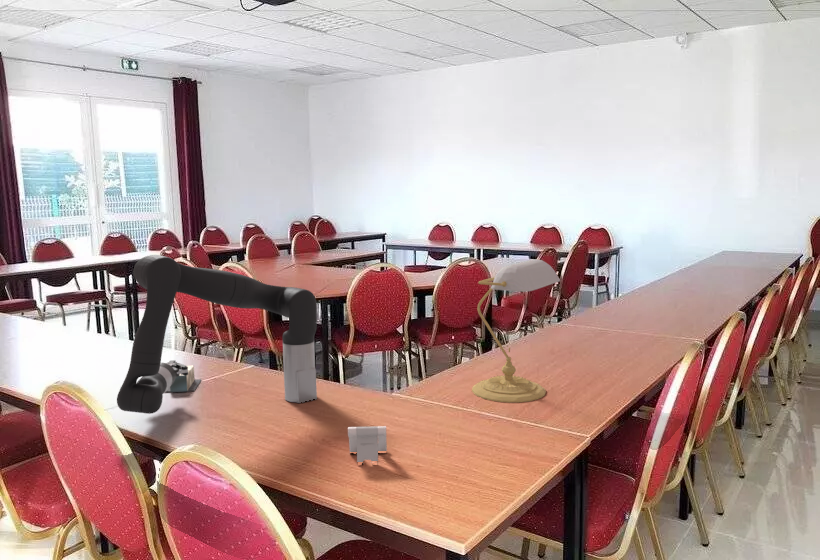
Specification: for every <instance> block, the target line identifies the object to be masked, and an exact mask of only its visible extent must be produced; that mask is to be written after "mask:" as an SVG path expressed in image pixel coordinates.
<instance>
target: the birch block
mask: <svg viewBox="0 0 820 560" xmlns="http://www.w3.org/2000/svg"><path fill="white" fill-rule="evenodd" d="M187 366H188V375H181V374H180V375H179V376H178V377H176V379H175V381H174V383H173V384H172V385H171V386H170V392H169V393H180V392H179V391H188V389H189V388H190V386H191V385H192V383H193V382H194V380H195V379H196V378H195V377H196V376H195V365H193V364H191V365H187Z"/></svg>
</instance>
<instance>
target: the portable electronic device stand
mask: <svg viewBox="0 0 820 560" xmlns="http://www.w3.org/2000/svg"><path fill="white" fill-rule="evenodd" d="M347 436H348V437H347V438H348V446H349V453H350V452H357V454H356V463H357V462H363V461H368V460H369V461H378V462H379V454H378V451H387V450H388V449H387V447H388V446H387V426H386V425H382V426H381V425H380V426H379V425H377V426H374V425H373V426H348V427H347ZM387 452H388V451H387Z"/></svg>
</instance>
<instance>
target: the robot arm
mask: <svg viewBox="0 0 820 560" xmlns="http://www.w3.org/2000/svg"><path fill="white" fill-rule="evenodd" d="M133 267H134V268H133V277H134V279H135V281H136V282H137V284H138V285H139V286H140V287H141V288H143V289H145V290H146V303H145V308H144V313H143V315H142V316H143V317H142V319H141V320H140V323H139V326H138V329H137V330H136V333H135V335H134V338H133V343H132V348H131V355H130V356H131V357H130V362H129V367H128V370H127V373H126V375H125V377H124V378H125V379H124V381H123V383H122V385H121V386H120V389H119V391H118V394H117V396H116V404H117V406H118V408H119V410H122V411H124V412H129V413H130V412H131V413H140V414H148V415H150V414H154V413H157V412H158V411H159V410H160V408H161V407H162V403H163V397H164V396H163V395H164V394H165V392H166V391H167V390H168V389H169V388H170V386H171V385H172V384H173V383H174V381H175V379H176V377H178V376H179V375H180V374H181V375H188V366H189V365H186V364H183V363H180V362H178V361H176V360H169V361H168V362H162V354H163V348H164V342H165V336H166V331H167V326H168V322H169V318H170V315H171V312H172V311H171V310H172V308H173V304H174V301H175V298H176V294H177V293H179V294H184V295H188V296H192V297H194V298H197V299H200V300H203V301H207V302H210V303H213V304H215V305H216V304H217V305H220V306H227V307H231V308H238V309H248V310H249V309H259V310H264V311H268V312H271V313H274V314H277V315H280V316H283V317H285V318H288V319H289V321H288V322H289V323H288V326H289V327H288V329H287V330H286V331H284V332H283V333H282V358H283V382H284V383H283V384H284V386H283V387H284V400H285V401H287V402H291V403H297V404H302V403H306V402H305V401H307V402H310V401H309V400H311V401H314V400H313V399H315V400H317V399H318V398H317V397H318V396H317V395H318V392H317V391H318V390H317V389H318V388H317V369H316V359H315V356H316V354H315V334H316V332H317V324H318V320H317V319H318V318H317V317H318V315H317V314H318V306H317V299H316V296H315V295H314V293H313V292H312V291H310V290H308V289H305V288H299V287H295V286H293V287H292V286H281V285H271V284H267V283H263V282H261V281H259V280H257V279H255V278H252V277H250V276H248V275H244V274H240V273H236V272H233V271H232V272H231V271H226V270H221V269H215V268H214V269H213V268H205V267H195V266H191V265H190V266H189V265H186V264H182V263H179V262H177V260H175V259H173V258H171V257H169V256H165V255H159V254H149V255H147V256H144V257H142V258H140V259H138V261H137V262H136V263H135V264H134V266H133ZM139 378H140V379H139ZM137 380H138V381H137ZM301 402H302V403H301Z"/></svg>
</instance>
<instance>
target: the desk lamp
mask: <svg viewBox="0 0 820 560" xmlns="http://www.w3.org/2000/svg"><path fill="white" fill-rule="evenodd" d="M559 282H561V279H560V278H559V276H558V274H557V272H556V271H555V270H554V268H553V267H552V266H551V265H550V264H549V263H547V262H546V261H545V260H542V259H536V258H535V259H534V258H533V259H530V260H529V259H528V260H526V261H521V262H518V263H517V262H516V263H513V264H509V265H506V266H503V267H502V268H500V269H499V270H498V272H497V273H496V274H495V276H494V277H489V278H486V279H483V280H479V281H478V285H485V286H491V287H490V288H489V289H488V290H487V292H486V293H484V295H483V296H482V298H481V299H480V300H479V302H478V304H477V308H476V309H477V313H478V316H479V317H480V319H481V320H482V321H483V323H484V325H485V326H486V328H487V330H488V331H489V333H490V334H491V336H492V338H493V339H494V340H495V342H496V343H497V345H498V347H499V348H500V350H501V352H502V353H503V354H504V357H505V359H506V362H505V364H504V365H502V367H501V373H502V374H503V375H497V376H493V377H490V378H488V379H484V380H480V381H479V382H477V383H475V384H474V385H473V386H472V387H471V392H472V393H473V394H474V395H475V397H478V398H480V397H481V398H480V399H483V400H486V399H487V401H490V400H492V401H491V402H498V403H499V402H500V403H509V404H510V403H517V404H518V403H527V402H532V401H536V400H540V399H541V398H543V397H544V396H546V392H547V391H546V389H545V387H543V386H542V385H541V384H540V383H537V382H535V381H531V380H529V379H527V378H526V377H523V376H522V377H521V376H519V375H518V376H516V375H515V373H516V372H517V369H516V367H515V366H514V365H513V363H512V358H511V357H510V356H509V355H508V353H511V347H508V353H507V351H506V350H505V349H504V347H503V345H502V343H500V341H499V339H498V337H497V336H496V334H495V332H494V331H493V329H492V328H491V326H490V324H489V323H488V321H487V320H486V318H485V317H484V315H483V313H482V312H481V311H482V310H481V306H482V304H483V302H484V301H485V299H486V298H487V297H488V296H489V295H490V293H491V292H492V291H493V290H497V291H508V292H532V291H537V290H538V289H542V288H545V287H547V286H550V285H553V284H556V283H559ZM508 332H509V338H508V339H510V330H509V331H508Z"/></svg>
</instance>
